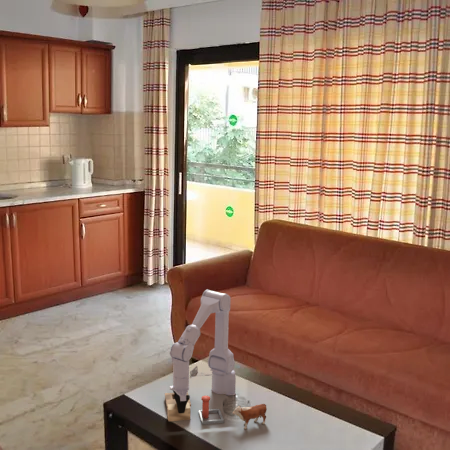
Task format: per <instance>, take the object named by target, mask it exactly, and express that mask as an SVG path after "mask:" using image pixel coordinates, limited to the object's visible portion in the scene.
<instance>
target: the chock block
mask: <svg viewBox="0 0 450 450" xmlns="http://www.w3.org/2000/svg"><path fill="white" fill-rule="evenodd" d="M166 408H167V409H166V410H167V413H166V414H167V415H166V416H167V420H168V422H177V421H189V420H191V406H190V404H189V403H187V405H186V408H185V412H184V413H178V408H177V404H167V405H166Z"/></svg>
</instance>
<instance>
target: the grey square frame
mask: <svg viewBox="0 0 450 450" xmlns="http://www.w3.org/2000/svg"><path fill="white" fill-rule="evenodd" d="M212 413H214V414H215V413H217V414H218V416H219V419H208V420H206V419H205V420H204V418H203V417H202V409H201V410H200V409H199V410H198V415H199V419H200V422H201V425H210V424H212V425H213V424H224V421H225V420H224V417H223V415H222V414H223V413H222V411H221V408H212V409H210V408H209V414H212Z"/></svg>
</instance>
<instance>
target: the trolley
mask: <svg viewBox="0 0 450 450" xmlns="http://www.w3.org/2000/svg"><path fill="white" fill-rule="evenodd" d="M174 395H175V394H174V392H165V393H164V398H165V403H166V404H165V405H166V406H167V404H176V401H175V399H174ZM187 395H189V391H188V392H187ZM187 403H189V404H190V407H192V403H191V400H190V399H189V400H188V402H187Z"/></svg>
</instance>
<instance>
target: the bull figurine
mask: <svg viewBox="0 0 450 450" xmlns="http://www.w3.org/2000/svg"><path fill="white" fill-rule="evenodd" d="M267 409H268V408H267V404H266V403H261V404H255V405H251V406H246V407H245V406H243V407H241V405H238V406H236V407H235V409H234V410H233V411H232V415H233V416H234V415H235V416H237V417H239V418H240V420H241V421H242V422H244V423H243V426H244V427H243V430H245V431H246V430H247V429H248V424H249V422H250V421H251V420H253V423H257V421H259V419H261V418H262V419H263V420H262V422H261V425H265V423H266V418H267V416H266V413H267Z"/></svg>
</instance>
